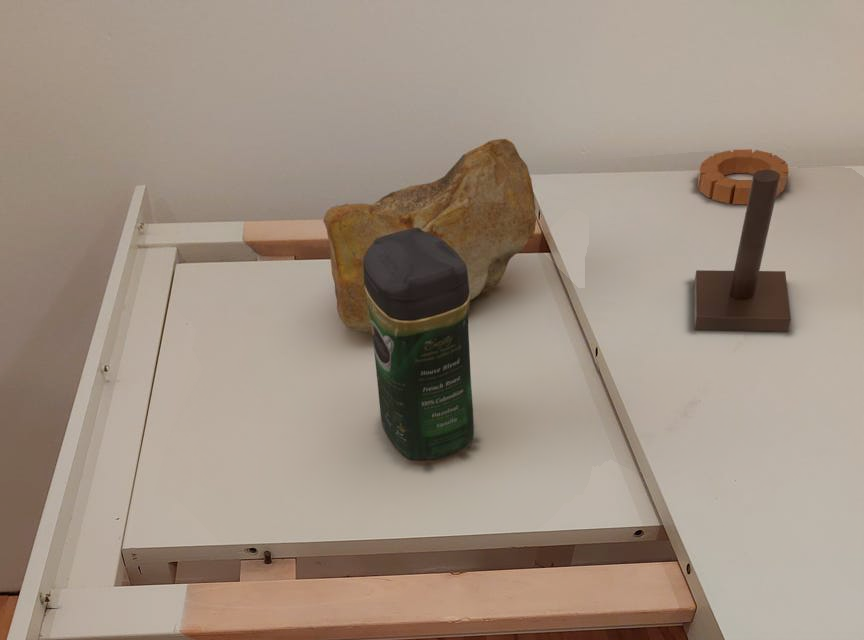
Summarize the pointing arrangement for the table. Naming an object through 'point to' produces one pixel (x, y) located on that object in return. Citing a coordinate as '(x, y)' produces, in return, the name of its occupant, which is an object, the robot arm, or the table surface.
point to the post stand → (746, 275)
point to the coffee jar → (421, 343)
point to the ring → (737, 162)
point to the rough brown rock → (440, 223)
